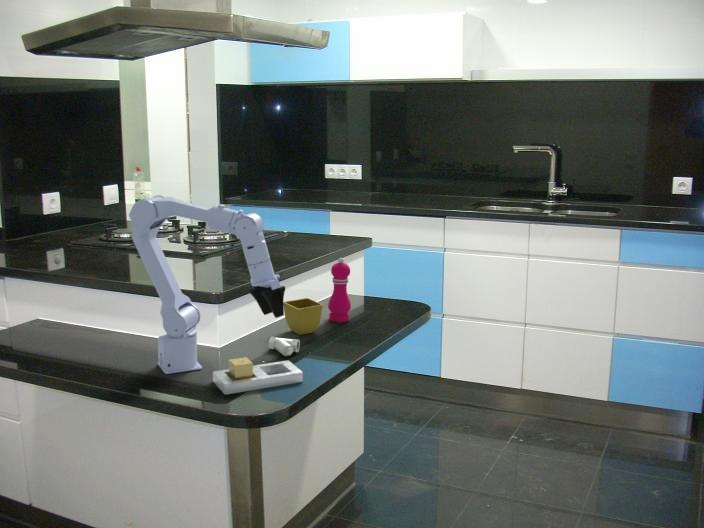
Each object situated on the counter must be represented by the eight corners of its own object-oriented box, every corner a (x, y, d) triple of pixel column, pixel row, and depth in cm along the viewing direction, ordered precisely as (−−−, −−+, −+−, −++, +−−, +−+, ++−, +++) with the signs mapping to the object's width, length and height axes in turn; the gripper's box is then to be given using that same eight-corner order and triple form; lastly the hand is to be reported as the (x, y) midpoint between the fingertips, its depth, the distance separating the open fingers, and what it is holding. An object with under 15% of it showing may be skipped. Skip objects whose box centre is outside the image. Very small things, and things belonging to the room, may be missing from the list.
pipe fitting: (292, 360, 196) (299, 350, 202) (292, 346, 195) (299, 337, 201) (264, 356, 198) (272, 346, 204) (264, 343, 196) (272, 334, 203)
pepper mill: (325, 316, 233) (326, 255, 229) (346, 315, 235) (348, 255, 231) (331, 323, 226) (333, 260, 222) (353, 322, 229) (355, 260, 224)
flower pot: (297, 338, 211) (298, 308, 209) (282, 330, 218) (282, 301, 216) (322, 333, 216) (323, 304, 214) (306, 325, 223) (307, 297, 221)
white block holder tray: (224, 394, 170) (224, 384, 170) (212, 381, 178) (212, 371, 177) (302, 381, 180) (303, 372, 179) (288, 369, 187) (288, 360, 187)
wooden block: (234, 389, 174) (234, 365, 172) (228, 382, 177) (228, 359, 176) (252, 386, 176) (252, 363, 174) (246, 380, 180) (246, 357, 178)
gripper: (285, 257, 172) (299, 312, 174) (263, 256, 184) (277, 307, 187) (257, 266, 169) (273, 322, 171) (237, 264, 181) (252, 316, 184)
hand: (273, 315), depth 179 cm, fingers open, 7 cm apart
